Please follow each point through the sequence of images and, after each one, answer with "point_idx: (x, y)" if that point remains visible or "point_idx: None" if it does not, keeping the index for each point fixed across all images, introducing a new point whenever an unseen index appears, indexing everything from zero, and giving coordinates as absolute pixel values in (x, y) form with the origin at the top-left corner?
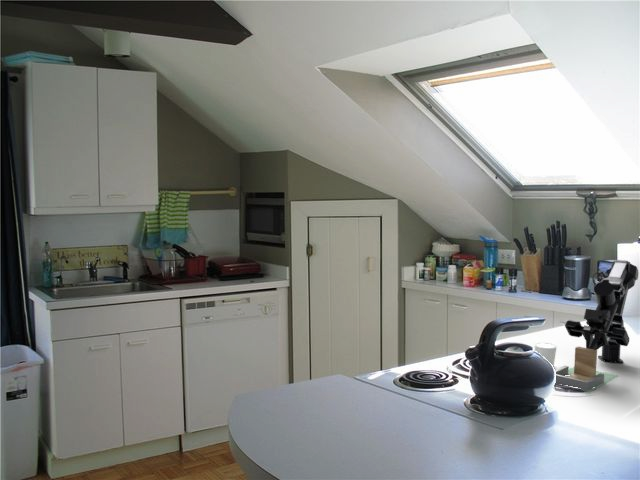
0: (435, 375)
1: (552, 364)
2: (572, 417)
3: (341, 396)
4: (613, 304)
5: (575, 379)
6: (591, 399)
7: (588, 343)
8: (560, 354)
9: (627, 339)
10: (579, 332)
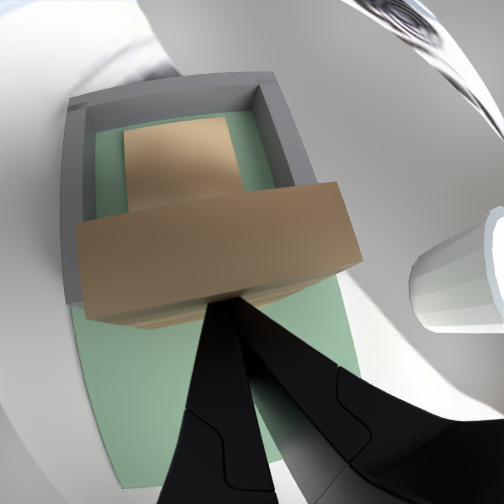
0: (409, 24)
1: (420, 293)
2: (61, 3)
3: None
4: None
5: (131, 86)
6: (47, 87)
7: (300, 381)
8: None
9: None
10: None
